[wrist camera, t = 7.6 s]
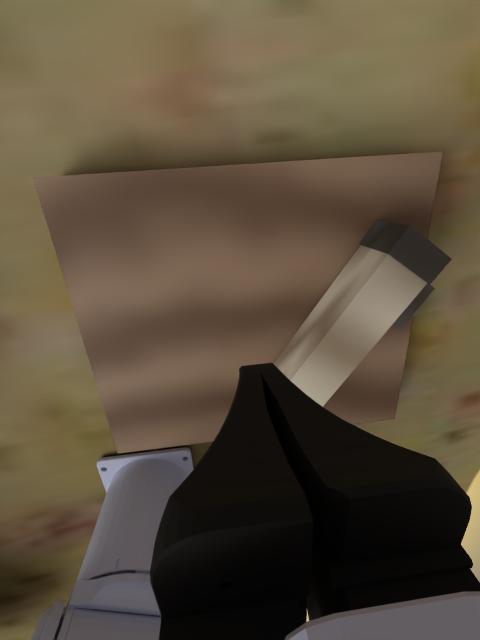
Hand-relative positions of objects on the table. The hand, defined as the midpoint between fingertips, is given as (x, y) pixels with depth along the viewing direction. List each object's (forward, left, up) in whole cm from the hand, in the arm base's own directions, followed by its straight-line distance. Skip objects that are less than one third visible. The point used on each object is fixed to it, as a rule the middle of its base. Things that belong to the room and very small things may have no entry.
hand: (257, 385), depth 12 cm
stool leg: (-3, -5, -8) cm, 10 cm away
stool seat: (-1, -1, -10) cm, 10 cm away
